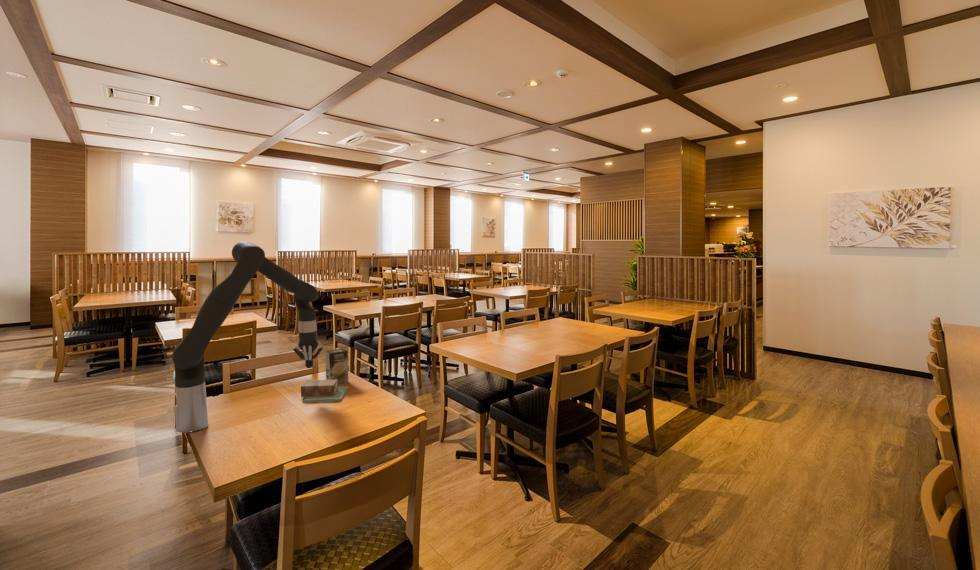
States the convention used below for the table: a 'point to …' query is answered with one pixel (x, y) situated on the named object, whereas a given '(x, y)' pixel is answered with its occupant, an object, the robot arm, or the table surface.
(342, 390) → the mat
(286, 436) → the table surface
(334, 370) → the coffee box
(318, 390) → the walnut block
